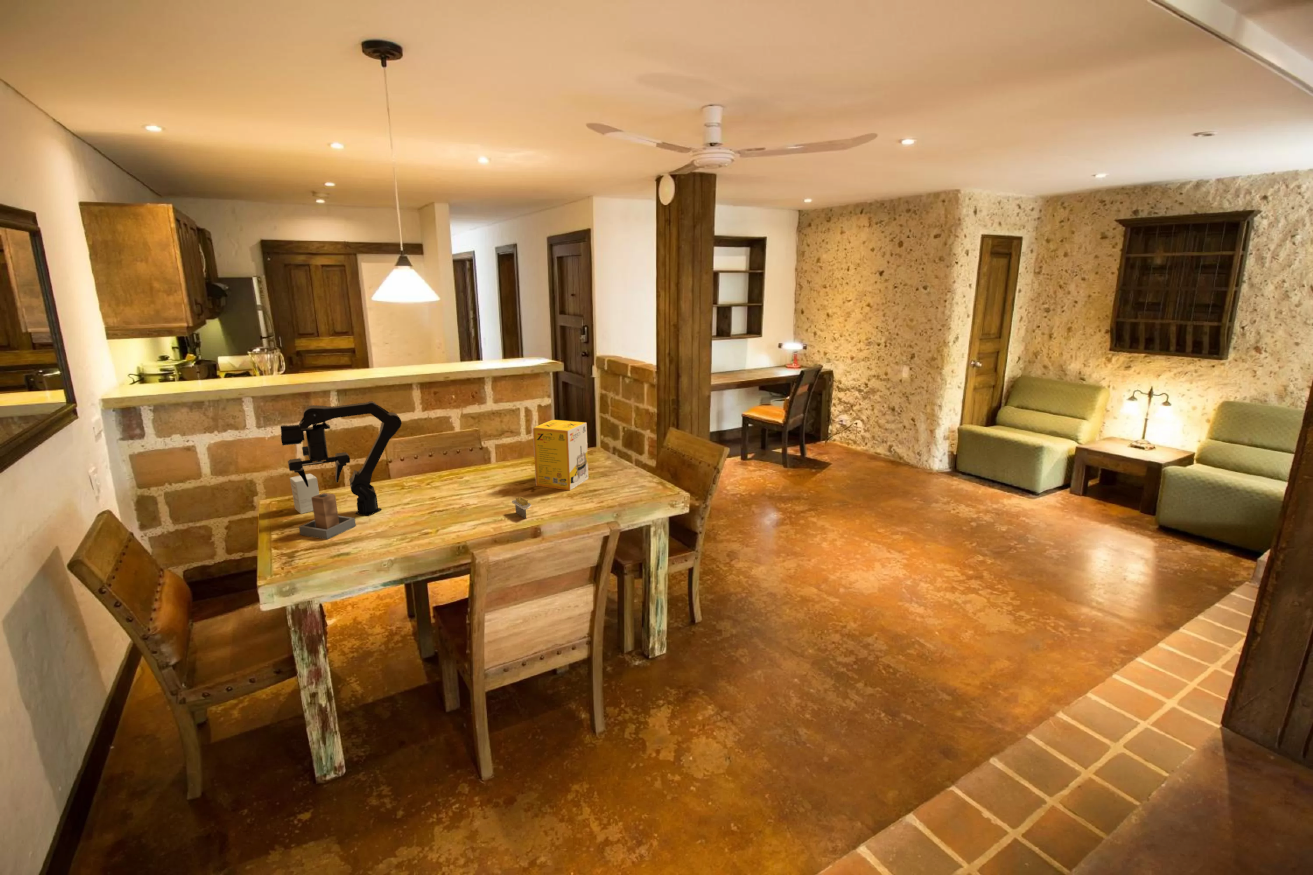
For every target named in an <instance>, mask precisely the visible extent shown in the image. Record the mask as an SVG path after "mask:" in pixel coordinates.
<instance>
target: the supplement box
mask: <svg viewBox="0 0 1313 875" xmlns="http://www.w3.org/2000/svg"><path fill="white" fill-rule="evenodd" d="M305 475H306V478H307V481H308V487H307V486H306V484H305V482H304V480H303V479H302V477H301V476H300V475H296V476H293V477H289V482H290V487H291V492H292V499H293V505H294V506H293V507H294V509H295V510H296V511H297V512H298V513H300V514H301V515H302V514H307V513H311V512H314V511H313V505H312V498H311V497H314V496H316V495H319V494H320V491H319V490H320V489H319V483H318V478H317V477H316V476H315V475H313V474H312V473H305Z"/></svg>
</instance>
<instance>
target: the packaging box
mask: <svg viewBox="0 0 1313 875" xmlns="http://www.w3.org/2000/svg"><path fill="white" fill-rule="evenodd" d="M532 438H533V440H532V442H533V455H534V456H533V457H534V474H535V475H534V476H535V477H534V478H535V486H536V487H543V488H550V489H559V490H564V491H565V490H566V491H571V490H573V489H574V488H576V487H578V486H579V485H581V484H582V483H584V482H586V481H587V480H589V456H588V453H589V452H588V451H589V450H588V425H587V422H584V421H573V420H561V419H551V420H549V421H546V422H544V423H541V424H539V425H537V426H534V427H532Z"/></svg>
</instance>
